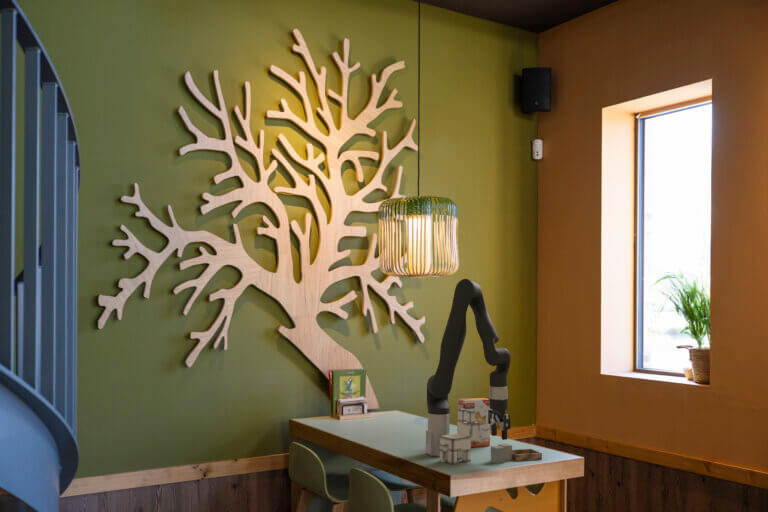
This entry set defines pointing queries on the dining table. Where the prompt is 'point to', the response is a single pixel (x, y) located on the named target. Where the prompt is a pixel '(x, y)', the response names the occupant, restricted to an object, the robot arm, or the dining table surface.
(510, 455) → the beige grey block
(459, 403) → the cracker box
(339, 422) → the dining table surface
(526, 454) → the bin
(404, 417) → the dining table surface
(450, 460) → the toy llama
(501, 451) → the grey rectangular block
